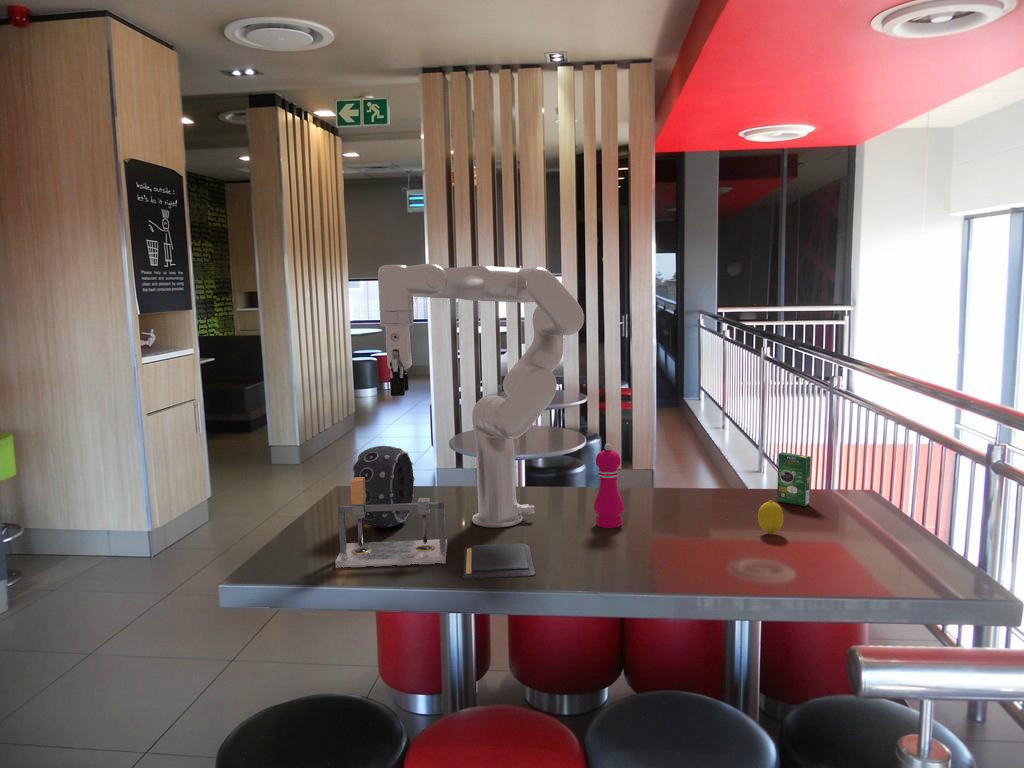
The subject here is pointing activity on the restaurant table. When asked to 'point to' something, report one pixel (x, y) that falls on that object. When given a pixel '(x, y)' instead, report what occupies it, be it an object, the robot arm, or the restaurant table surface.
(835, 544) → the restaurant table surface
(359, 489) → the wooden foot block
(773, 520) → the lemon
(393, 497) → the ring
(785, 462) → the coffee box
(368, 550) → the switch panel
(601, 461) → the pepper mill
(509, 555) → the dark grey flat slab
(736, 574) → the restaurant table surface
